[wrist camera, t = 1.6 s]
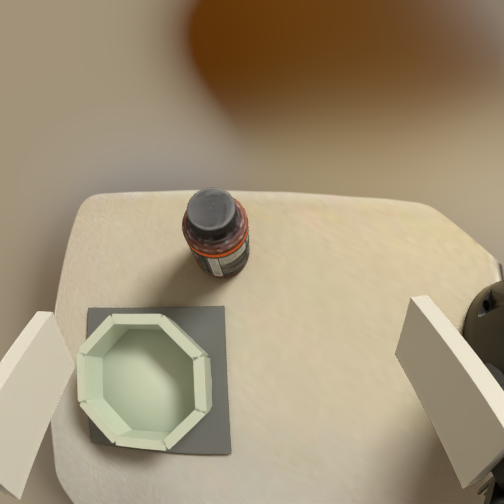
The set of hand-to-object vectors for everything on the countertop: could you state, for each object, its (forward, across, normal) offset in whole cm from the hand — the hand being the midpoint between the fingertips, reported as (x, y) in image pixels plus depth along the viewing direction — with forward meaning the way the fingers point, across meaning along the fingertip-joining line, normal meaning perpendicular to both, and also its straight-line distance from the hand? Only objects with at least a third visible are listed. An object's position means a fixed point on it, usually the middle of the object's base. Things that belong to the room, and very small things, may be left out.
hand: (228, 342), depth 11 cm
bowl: (+14, -10, -18) cm, 25 cm away
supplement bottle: (+25, -2, -8) cm, 26 cm away
